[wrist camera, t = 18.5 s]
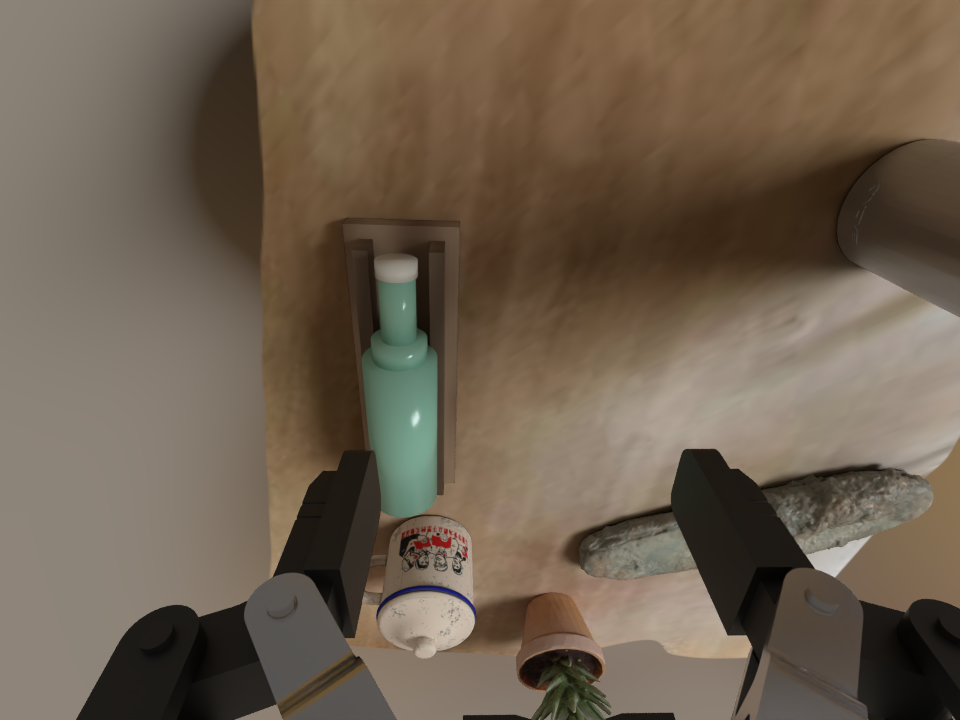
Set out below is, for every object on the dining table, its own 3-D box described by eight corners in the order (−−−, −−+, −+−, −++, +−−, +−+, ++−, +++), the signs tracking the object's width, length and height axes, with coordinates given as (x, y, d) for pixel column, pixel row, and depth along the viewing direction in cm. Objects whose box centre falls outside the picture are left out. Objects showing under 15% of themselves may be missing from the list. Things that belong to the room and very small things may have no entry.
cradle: (459, 221, 36) (459, 238, 32) (455, 471, 48) (454, 503, 44) (346, 218, 35) (334, 234, 32) (370, 471, 48) (363, 502, 44)
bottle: (367, 515, 39) (343, 272, 29) (380, 469, 44) (363, 245, 33) (433, 518, 39) (433, 277, 29) (439, 472, 44) (441, 249, 33)
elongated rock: (566, 508, 53) (581, 561, 59) (574, 551, 49) (589, 604, 54) (927, 443, 48) (907, 509, 53) (972, 486, 43) (945, 553, 49)
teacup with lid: (480, 516, 51) (485, 626, 41) (466, 572, 56) (468, 684, 46) (362, 504, 50) (338, 616, 40) (357, 563, 54) (334, 676, 44)
